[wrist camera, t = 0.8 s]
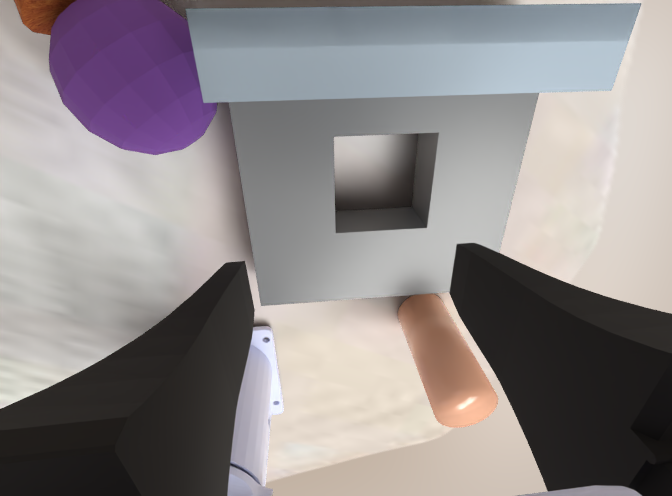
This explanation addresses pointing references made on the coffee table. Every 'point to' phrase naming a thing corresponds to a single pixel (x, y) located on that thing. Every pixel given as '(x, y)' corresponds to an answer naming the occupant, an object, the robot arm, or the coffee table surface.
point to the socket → (389, 127)
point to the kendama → (124, 70)
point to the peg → (445, 363)
